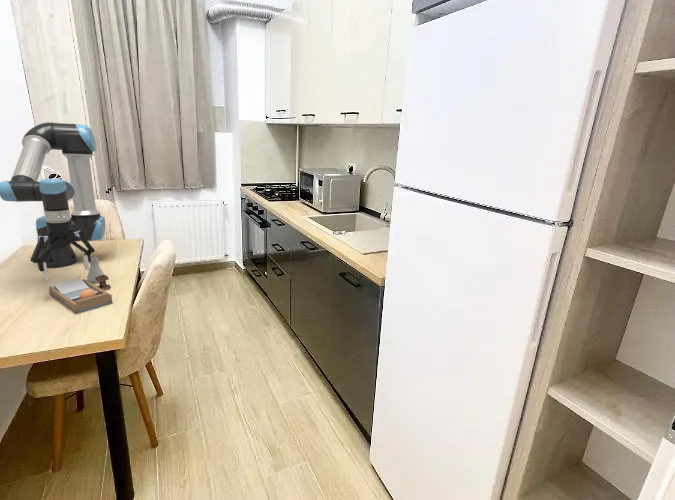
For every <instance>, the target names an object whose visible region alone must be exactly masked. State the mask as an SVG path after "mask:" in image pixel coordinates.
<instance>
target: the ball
mask: <svg viewBox="0 0 675 500" xmlns="http://www.w3.org/2000/svg"><path fill="white" fill-rule="evenodd" d="M92 296H96V293H95V292H94V291H93V290H91V289H86V290H84V291H82V292H81V293H80V300H81V299H85V298H88V297H92Z"/></svg>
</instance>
